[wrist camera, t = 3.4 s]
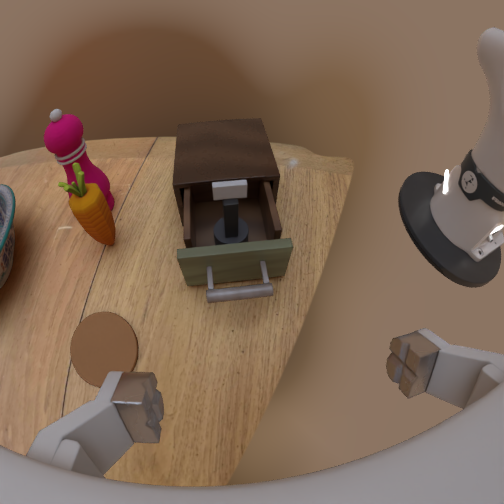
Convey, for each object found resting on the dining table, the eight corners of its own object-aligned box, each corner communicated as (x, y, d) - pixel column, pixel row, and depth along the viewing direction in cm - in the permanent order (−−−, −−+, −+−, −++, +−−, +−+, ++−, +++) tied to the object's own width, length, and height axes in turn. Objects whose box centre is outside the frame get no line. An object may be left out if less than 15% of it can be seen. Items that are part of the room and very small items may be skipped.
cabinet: (273, 217, 42) (280, 175, 35) (182, 226, 40) (172, 184, 33) (258, 157, 49) (261, 118, 42) (184, 163, 48) (178, 124, 41)
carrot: (113, 263, 36) (67, 191, 24) (92, 250, 37) (46, 181, 25) (132, 237, 39) (97, 160, 26) (110, 226, 40) (74, 153, 27)
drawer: (291, 306, 33) (302, 281, 28) (188, 317, 32) (177, 295, 26) (266, 198, 43) (270, 164, 37) (185, 205, 41) (179, 172, 36)
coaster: (138, 311, 33) (136, 309, 32) (140, 388, 28) (138, 388, 27) (74, 314, 32) (72, 312, 31) (72, 385, 27) (69, 384, 26)
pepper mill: (97, 230, 39) (43, 129, 22) (73, 215, 41) (24, 124, 24) (125, 200, 43) (87, 97, 26) (100, 187, 44) (63, 95, 27)
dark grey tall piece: (245, 225, 38) (248, 167, 29) (250, 252, 36) (253, 196, 27) (213, 228, 38) (207, 171, 29) (215, 256, 36) (209, 200, 27)
